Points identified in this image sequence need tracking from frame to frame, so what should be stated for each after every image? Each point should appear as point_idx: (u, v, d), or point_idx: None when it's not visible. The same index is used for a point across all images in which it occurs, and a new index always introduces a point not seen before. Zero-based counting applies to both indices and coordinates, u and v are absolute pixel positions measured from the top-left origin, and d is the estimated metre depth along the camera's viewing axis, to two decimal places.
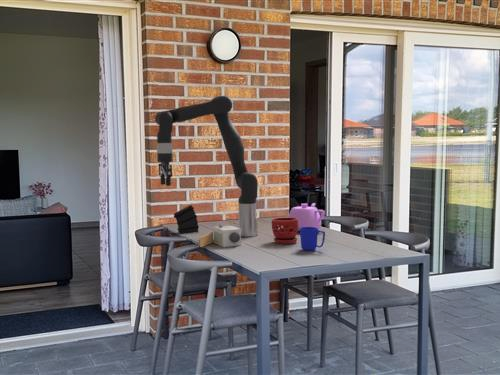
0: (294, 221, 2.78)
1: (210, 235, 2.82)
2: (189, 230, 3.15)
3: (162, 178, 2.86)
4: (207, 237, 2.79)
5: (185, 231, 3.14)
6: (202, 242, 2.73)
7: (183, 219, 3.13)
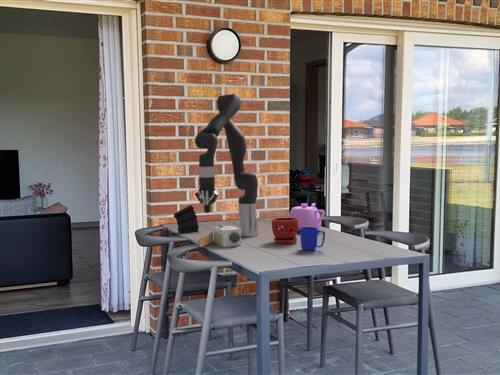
0: (294, 221, 2.78)
1: (210, 235, 2.82)
2: (189, 230, 3.15)
3: None
4: (207, 237, 2.79)
5: (185, 231, 3.14)
6: (202, 242, 2.73)
7: (183, 219, 3.13)
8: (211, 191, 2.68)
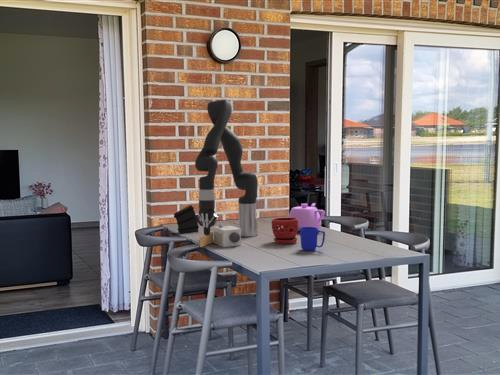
0: (294, 221, 2.78)
1: (210, 235, 2.82)
2: (189, 230, 3.15)
3: None
4: (207, 237, 2.79)
5: (185, 231, 3.14)
6: (202, 242, 2.73)
7: (183, 219, 3.13)
8: (211, 214, 2.69)
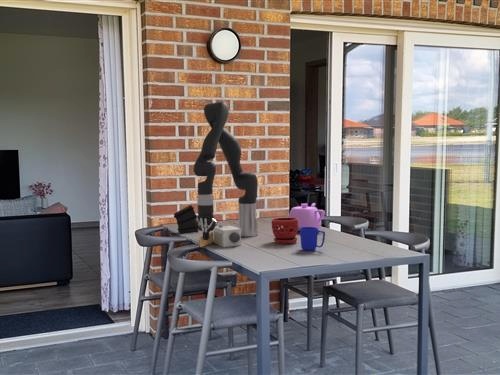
0: (294, 221, 2.78)
1: (210, 235, 2.82)
2: (189, 230, 3.15)
3: None
4: None
5: (185, 231, 3.14)
6: (202, 242, 2.73)
7: (183, 219, 3.13)
8: (210, 219, 2.70)
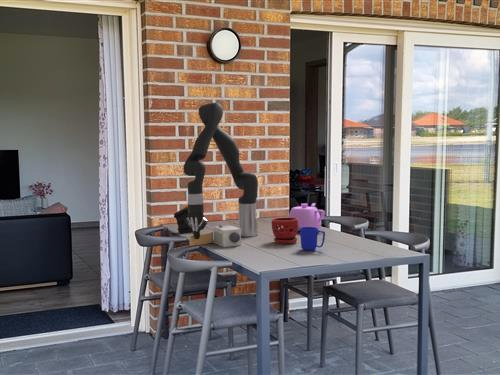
0: (294, 221, 2.78)
1: (208, 235, 2.83)
2: (189, 230, 3.15)
3: None
4: (202, 236, 2.80)
5: (185, 231, 3.14)
6: (192, 241, 2.77)
7: (183, 219, 3.13)
8: (200, 218, 2.73)
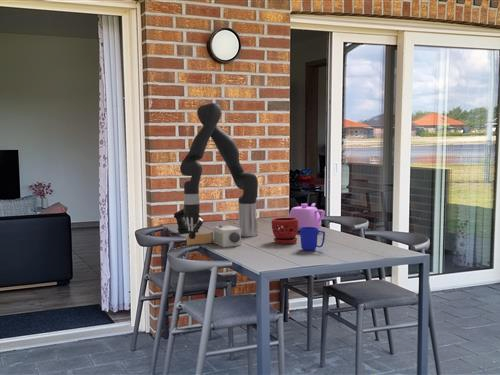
0: (294, 221, 2.78)
1: (207, 235, 2.83)
2: None
3: None
4: (201, 236, 2.81)
5: (185, 231, 3.14)
6: (190, 240, 2.78)
7: None
8: (196, 218, 2.73)
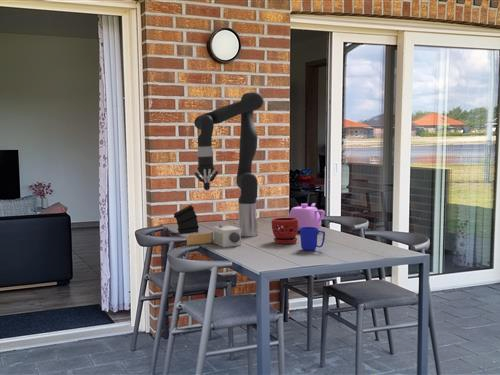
0: (294, 221, 2.78)
1: (207, 235, 2.83)
2: (189, 230, 3.15)
3: None
4: (201, 236, 2.81)
5: (185, 231, 3.14)
6: (190, 240, 2.78)
7: (183, 219, 3.13)
8: (212, 169, 2.87)
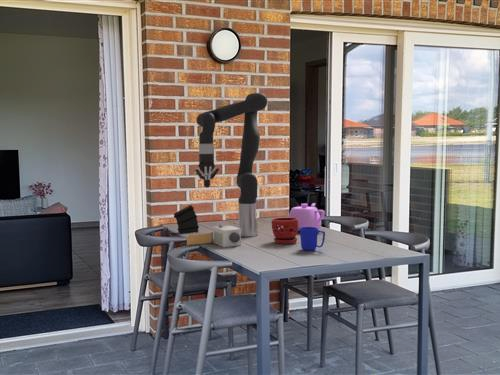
0: (294, 221, 2.78)
1: (207, 235, 2.83)
2: (189, 230, 3.15)
3: None
4: (201, 236, 2.81)
5: (185, 231, 3.14)
6: (190, 240, 2.78)
7: (183, 219, 3.13)
8: (213, 166, 2.88)
